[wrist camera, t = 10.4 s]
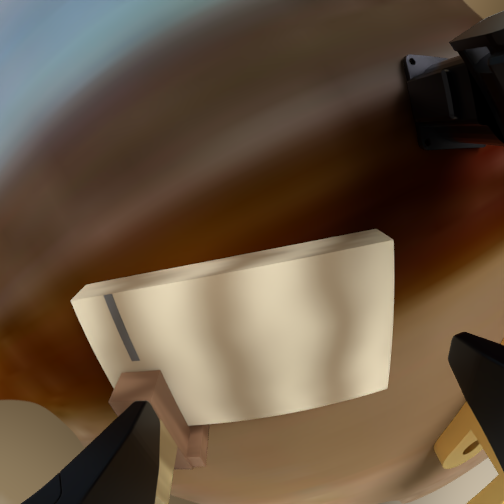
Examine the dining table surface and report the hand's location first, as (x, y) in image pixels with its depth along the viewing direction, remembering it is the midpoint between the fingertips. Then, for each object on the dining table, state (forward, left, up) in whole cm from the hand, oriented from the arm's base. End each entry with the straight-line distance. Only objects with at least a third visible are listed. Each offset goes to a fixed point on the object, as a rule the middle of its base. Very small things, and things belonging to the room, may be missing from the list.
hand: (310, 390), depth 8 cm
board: (+3, +6, -12) cm, 14 cm away
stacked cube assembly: (+10, +10, -11) cm, 18 cm away
